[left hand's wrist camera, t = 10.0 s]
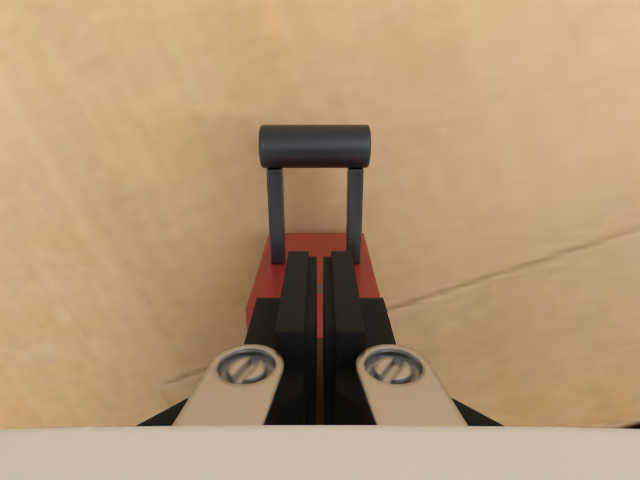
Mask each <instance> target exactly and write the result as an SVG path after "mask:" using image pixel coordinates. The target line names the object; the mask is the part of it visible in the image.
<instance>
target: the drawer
mask: <svg viewBox="0 0 640 480" xmlns="http://www.w3.org/2000/svg"><path fill="white" fill-rule="evenodd" d="M370 153H371V133H370V128H369V126H368V125H262V126H261V127H260V131H259V157H260V163H261V166H262V167H263V168H268V169H267V188H268V211H269V233H270V234H269V236H268V239H267V243H266V246H265V249H264V252H263V255H262V259H261V262H260V265H259V268H258V272H257V275H256V278H255V281H254V285H253V288H252V291H251V294H250V298H249V301H248V304H247V307H246V320H247V332H248V328H249V325H250V321H251V317H252V314H253V310H254V306H255V303H256V300H257V298H280V297H281V291H282V286H283V280H284V274H285V268H286V262H287V257H288V251H309V256H317V402H316V425H324V402H323V256H331V251H352V257H353V262H354V268H355V274H356V280H357V286H358V291H359V297H360V298H380V294H379V290H378V287H377V283H376V279H375V275H374V272H373V268H372V264H371V260H370V256H369V253H368V249H367V245H366V241H365V238H364V234H363V233H361V230H362V199H363V168H367V167H368V166H369V163H370ZM283 168H347V218H346V233H285V220H284V188H283Z"/></svg>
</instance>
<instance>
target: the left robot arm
mask: <svg viewBox="0 0 640 480" xmlns="http://www.w3.org/2000/svg"><path fill="white" fill-rule="evenodd" d="M316 402H317V256H309V251H288V257H287V262H286V268H285V274H284V280H283V286H282V291H281V297H280V298H257V300H256V303H255V306H254V310H253V314H252V317H251V321H250V325H249V328H248V332H247V335H246V339H245V343H244V345H240V346H235V347H232V348H230V349H227V350H225V351H223V352H222V353H220V354H219V355H217V356H216V357H215V358H214V359H213V361H212V362H211V363H210V365H209V366H208V368H207V370H206V371H205V373H204V375H203V376H202V378H201V379H200V381H199V383H198V384H197V386H196V388H195V389H194V391H193V392H192V394H191V396H190V397H189V398H187V399H185V400H184V401H182V402H180V403H178V404H176V405H174V406H172V407H171V408H169V409H167V410H165V411H163V412H161V413H159V414H157V415H156V416H154V417H152V418H150V419H148V420H146V421H144V422H143V423H141V424H139V425H137V426H128V427H56V428H26V429H0V480H640V429H616V428H581V427H517V426H503V425H501V424H499V423H497V422H496V421H494V420H492V419H490V418H488V417H486V416H484V415H483V414H481V413H479V412H477V411H475V410H473V409H471V408H469V407H468V406H466V405H464V404H462V403H460V402H458V401H456V400H455V399H453V398H451V397H450V396H449V394H448V392H447V391H446V389H445V388H444V386H443V384H442V383H441V381H440V379H439V378H438V376H437V375H436V373H435V371H434V370H433V368H432V366H431V365H430V363H429V362H428V361H427V359H426V358H425V357H424V356H423V355H421V354H420V353H418V352H417V351H415V350H413V349H410V348H408V347H405V346H400V345H396V343H395V339H394V335H393V332H392V328H391V325H390V321H389V317H388V314H387V310H386V306H385V303H384V300H383V298H360V297H359V291H358V286H357V280H356V274H355V268H354V262H353V257H352V251H331V256H323V402H324V425H316Z"/></svg>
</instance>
